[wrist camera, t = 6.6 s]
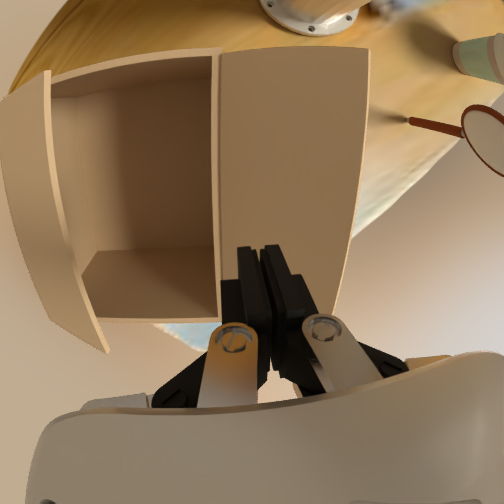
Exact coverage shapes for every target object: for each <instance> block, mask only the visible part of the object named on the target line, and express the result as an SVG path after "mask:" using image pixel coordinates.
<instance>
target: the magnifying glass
mask: <svg viewBox="0 0 504 504" xmlns="http://www.w3.org/2000/svg"><path fill="white" fill-rule="evenodd" d="M407 122H408V123H409V124H410V125H413V126H417V127H422V128H426V129H430V130H434V131H438V132H442V133H446V134H449V135H453V136H456V137H460V138H466V139H467V142H468V143H469V145H470V147H471V148H472V149H473V151H474V152H475V153H476V155H477V156H478V157H479V158H480V159H481V161H482V162H484V164H486V165H487V166H488V167H489V168H490V169H491V170H492V171H494V172H495V173H497V174H498V175H500V176H502V177H504V116H503V115H501V114H500V113H499V112H497V111H495V110H494V109H492V108H490V107H487V106H484V105H478V104H477V105H471V106H469V107H467V108H466V109H465V110H464V112H463V113H462V117H461V126H462V128H461V127H457V126H453V125H449V124H445V123H440V122H436V121H431V120H426V119H421V118H415V117H410V118H407Z"/></svg>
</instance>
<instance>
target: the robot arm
mask: <svg viewBox="0 0 504 504" xmlns="http://www.w3.org/2000/svg"><path fill="white" fill-rule="evenodd" d="M370 1H372V0H259V2H260V4H261V6H262V8H263V9H264V10H265V12H266V13H267V14H268V15H269V16H270V17H271V18H272V19H273V20H274V21H275V22H277V23H278V24H280V25H281V26H283V27H285V28H287V29H289V30H291V31H293V32H296V33H299V34H302V35H307V36H315V37H324V36H331V35H334V34H338V33H340V32H342V31H344V30H346V29H347V28H348V27H350V26H351V25H352V24H353V23H354V21H355V20H356V18H357V15H358V11H359V7H361V6H363V5H365V4H366V3H368V2H370ZM500 1H501V2H502V3H503V4H504V0H500ZM268 5H270V6H271V7H268ZM308 29H310V30H311V31H309V30H308ZM237 263H238V279H228V280H220V288H221V313H222V325H221V326H219V327H218V328H216V329H215V330H214V331H213V332H212V334H211V337H210V341H209V346H208V351H207V352H205V353H204V354H203V355H202V356H200V357H199V358H198V359H197V360H195V361H194V362H193V363H192V364H191V365H189V366H188V367H186V368H185V369H184V370H183V371H182V372H180V373H179V374H177V375H176V376H175V377H174V378H172V379H171V380H170V381H168V382H167V383H166V384H165V385H163V386H162V387H161V388H159V389H158V390H157V391H156V392H155V394H152V395H146V394H145V393H140V394H134V395H127V396H120V397H113V398H104V399H95V400H91V401H88V402H87V403H85V404H84V405H83V406H82V408H81V409H80V410H79V411H75V412H71V413H67V414H64V415H62V416H59V417H57V418H55V419H54V420H52V421H51V422H50V423H49V424H48V425H47V426H46V427H45V429H44V430H43V432H42V434H41V436H40V438H39V441H38V443H37V446H36V449H35V452H34V455H33V459H32V462H31V467H30V472H29V477H28V483H27V489H26V499H25V504H504V356H503V355H501V354H499V353H496V352H492V351H474V352H467V353H463V354H459V355H454V356H450V355H441V356H432V357H422V358H409V359H406V360H405V361H404V362H402V360H400V359H398V358H397V357H394V356H392V355H389V354H387V353H385V352H382V351H380V350H377V349H375V348H372V347H370V346H368V345H365V344H363V343H360V342H358V341H357V340H356V339H355V338H354V336H353V335H352V334H351V332H350V331H349V330H348V328H347V327H346V325H345V324H344V323H343V322H342V321H341V320H340V319H339V318H337V317H335V316H333V315H330V314H322V313H321V314H319V311H318V309H317V307H316V305H315V303H314V300H313V298H312V296H311V294H310V292H309V289H308V287H307V285H306V283H305V281H304V278H303V276H302V275H301V274H292V275H291V272H290V270H289V268H288V265H287V263H286V260H285V258H284V256H283V253H282V251H281V248H280V246H279V244H274V245H265V247H264V249H260V262H259V258H258V254H257V251H256V249H252V250H251V246H243V247H237ZM270 357H271V362H272V366H273V370H274V371H279V375H280V378H286V379H288V380H289V381H291V382H293V388H294V391H295V393H296V395H297V397H298V398H297V399H290V400H283V401H276V402H268V403H260V404H257V400H258V399H257V398H258V389H259V388H260V387H261V386H262V385H263V384H264V383H265V382H266V381H267V372H269V371H270Z"/></svg>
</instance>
